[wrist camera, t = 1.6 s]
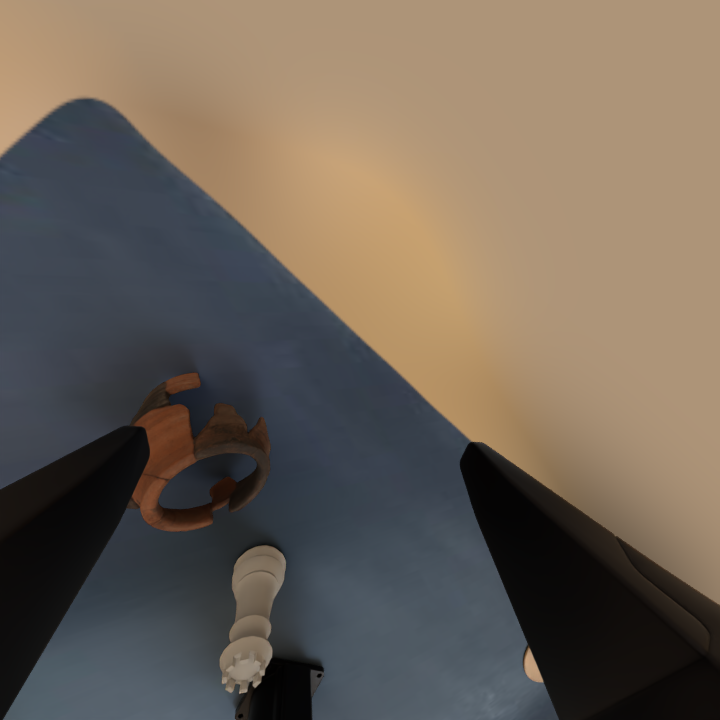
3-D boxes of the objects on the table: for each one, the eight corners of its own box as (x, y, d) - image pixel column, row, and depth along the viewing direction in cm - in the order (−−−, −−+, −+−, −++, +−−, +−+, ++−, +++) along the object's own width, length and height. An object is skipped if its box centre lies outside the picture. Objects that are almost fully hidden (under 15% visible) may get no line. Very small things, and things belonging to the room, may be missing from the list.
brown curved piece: (230, 346, 22) (260, 407, 16) (264, 423, 27) (295, 489, 22) (33, 416, 17) (-26, 539, 11) (124, 492, 23) (116, 599, 17)
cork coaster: (558, 684, 37) (559, 686, 36) (511, 674, 34) (512, 676, 34) (591, 628, 36) (593, 629, 36) (546, 614, 34) (548, 616, 34)
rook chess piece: (229, 584, 24) (196, 709, 16) (240, 539, 24) (213, 646, 16) (279, 586, 25) (271, 704, 18) (291, 543, 25) (288, 644, 17)
